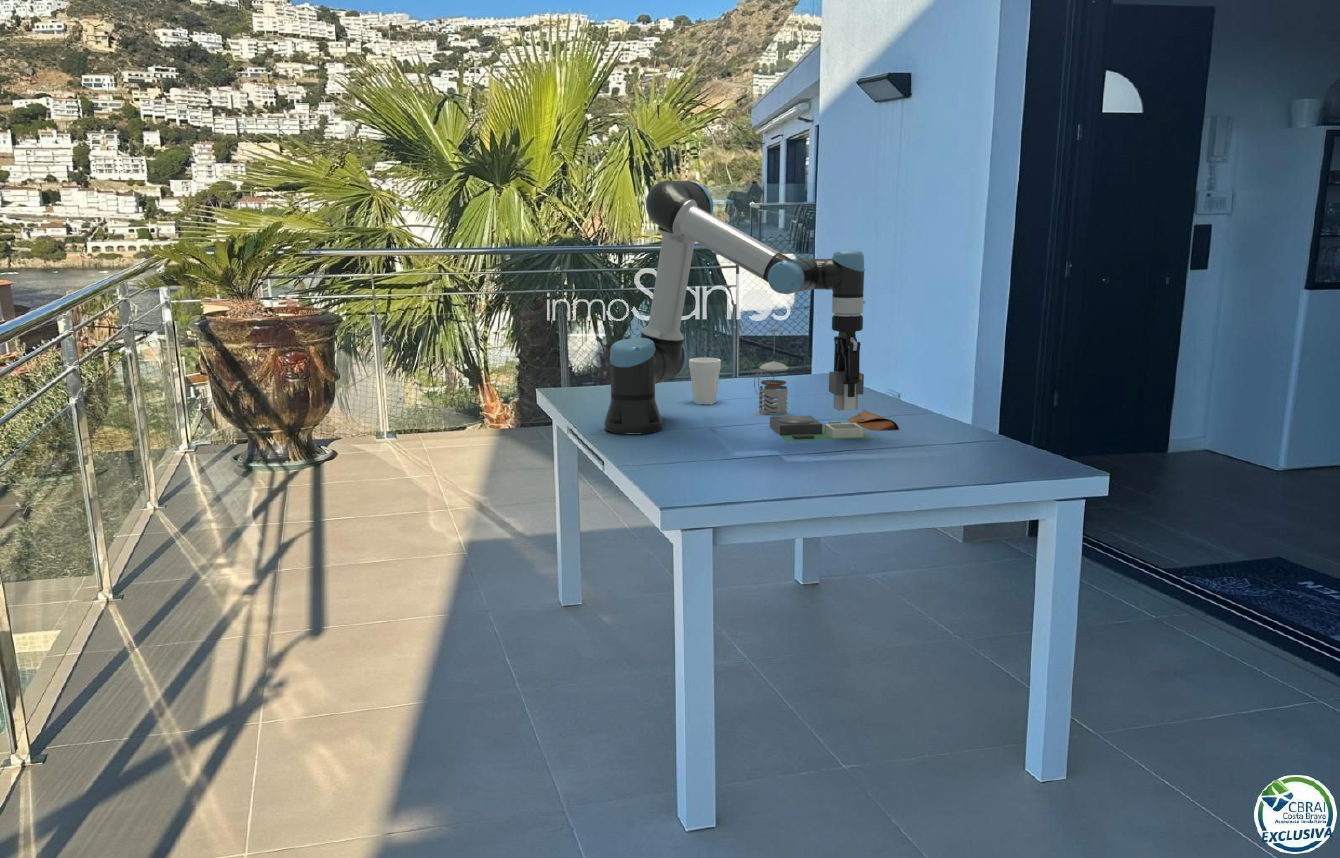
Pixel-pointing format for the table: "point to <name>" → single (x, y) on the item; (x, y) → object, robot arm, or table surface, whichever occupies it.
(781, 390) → the french press
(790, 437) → the board
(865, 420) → the sunglasses case
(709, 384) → the foam cup
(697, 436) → the table surface
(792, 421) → the fan
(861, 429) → the frame
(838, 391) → the plug
